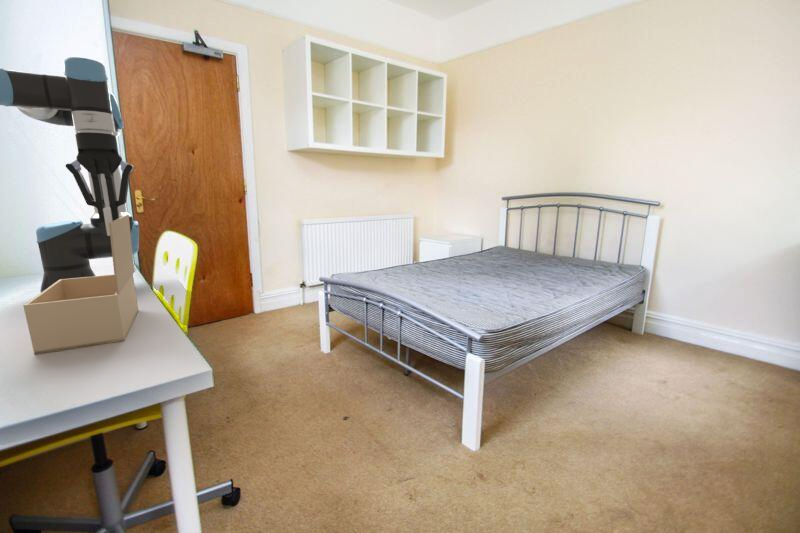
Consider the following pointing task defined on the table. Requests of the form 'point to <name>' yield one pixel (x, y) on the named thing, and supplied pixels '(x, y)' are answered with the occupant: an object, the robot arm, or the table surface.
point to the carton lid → (121, 251)
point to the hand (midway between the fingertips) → (112, 234)
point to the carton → (81, 313)
